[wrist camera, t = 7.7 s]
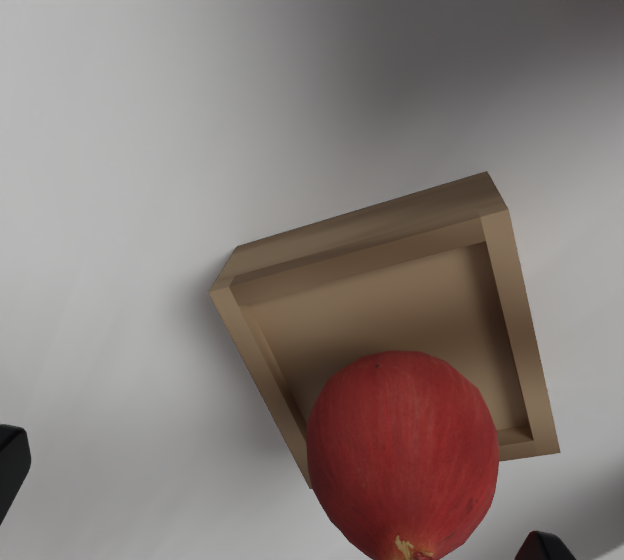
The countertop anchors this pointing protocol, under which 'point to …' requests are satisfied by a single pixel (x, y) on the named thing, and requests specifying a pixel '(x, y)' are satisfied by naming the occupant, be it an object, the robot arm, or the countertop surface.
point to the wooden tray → (392, 307)
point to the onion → (402, 455)
